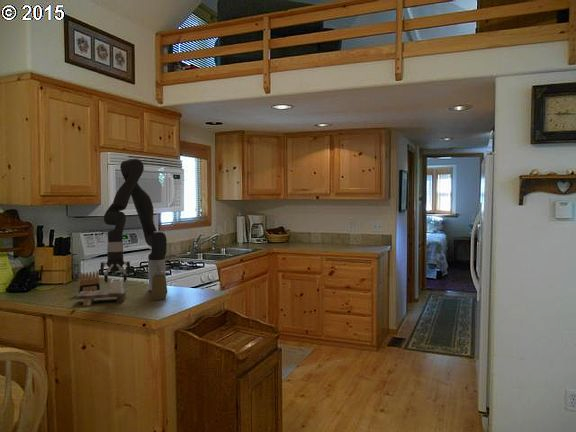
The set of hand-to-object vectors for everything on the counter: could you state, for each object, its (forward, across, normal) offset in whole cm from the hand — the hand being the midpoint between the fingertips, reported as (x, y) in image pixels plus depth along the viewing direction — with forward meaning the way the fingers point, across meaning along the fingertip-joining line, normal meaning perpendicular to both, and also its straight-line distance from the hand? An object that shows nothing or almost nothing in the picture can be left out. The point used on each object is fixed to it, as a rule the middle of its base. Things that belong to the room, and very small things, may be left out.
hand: (115, 282), depth 222 cm
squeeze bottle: (+9, -22, +4) cm, 24 cm away
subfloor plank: (+10, +6, 0) cm, 11 cm away
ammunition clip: (+10, +17, -22) cm, 29 cm away
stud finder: (+5, -1, 0) cm, 5 cm away
